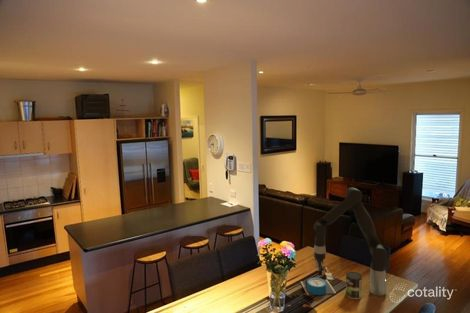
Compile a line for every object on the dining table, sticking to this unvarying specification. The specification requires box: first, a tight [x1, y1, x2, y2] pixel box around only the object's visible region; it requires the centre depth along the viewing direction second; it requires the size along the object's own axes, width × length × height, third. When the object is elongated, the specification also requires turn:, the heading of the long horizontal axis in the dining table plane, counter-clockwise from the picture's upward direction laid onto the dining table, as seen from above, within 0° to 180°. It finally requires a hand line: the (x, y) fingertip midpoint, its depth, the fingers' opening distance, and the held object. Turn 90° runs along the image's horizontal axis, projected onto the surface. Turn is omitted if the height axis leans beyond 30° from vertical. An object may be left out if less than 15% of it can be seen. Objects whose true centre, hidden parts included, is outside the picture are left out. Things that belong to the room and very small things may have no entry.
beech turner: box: [324, 266, 334, 281], centre depth 246 cm, size 18×4×1 cm, turn 174°
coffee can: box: [345, 271, 363, 300], centre depth 216 cm, size 10×10×14 cm
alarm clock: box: [304, 276, 326, 296], centre depth 223 cm, size 13×6×15 cm
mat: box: [300, 279, 337, 297], centre depth 227 cm, size 20×18×1 cm
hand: (319, 275), depth 221 cm, fingers closed
